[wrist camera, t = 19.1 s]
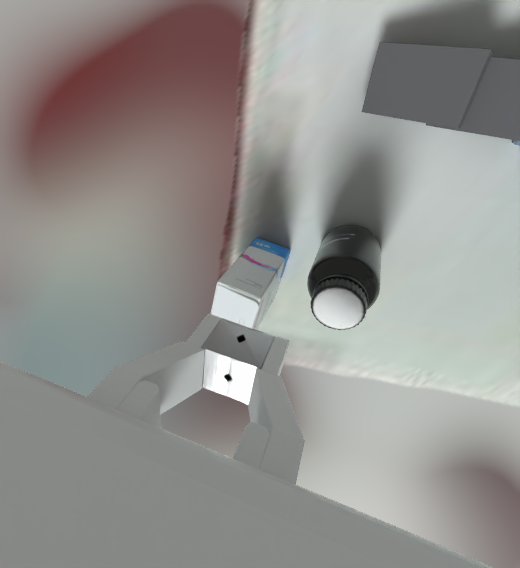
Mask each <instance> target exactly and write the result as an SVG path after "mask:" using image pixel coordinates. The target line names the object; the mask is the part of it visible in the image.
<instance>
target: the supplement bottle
mask: <svg viewBox="0 0 520 568" xmlns="http://www.w3.org/2000/svg"><path fill="white" fill-rule="evenodd" d="M380 269H381V249H380V245H379V242H378V240H377V238H376V237H375V236H374V235H373V234H372V233H371V232H370V231H369V230H367V229H365V228H363V227H361V226H357V225H344V226H340V227H338V228H335V229H334V230H332V231H331V232H329V233H328V234H327V235H326V237H325V238H324V240H323V241H322V244H321V246H320V248H319V251H318V253H317V256H316V258H315V261H314V263H313V265H312V268H311V270H310V273H309V276H308V291H309V294H310V296H311V298H312V300H311V309H312V313H313V314H314V316H315V317H316V319H317V320H318V321H319V322H320V323H322V324H323V325H324V326H327V327H329V328H333V329H338V330H341V329H343V330H345V329H350V328H352V327H355V326H356V325H359V323H360V322H362V319H363V318H364V317H365V314H366V310H367V309H369V308H370V307H371V306H372V305H373V304H374V303H375V301H376V299H377V297H378V295H379V290H380Z"/></svg>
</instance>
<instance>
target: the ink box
mask: <svg viewBox="0 0 520 568" xmlns="http://www.w3.org/2000/svg"><path fill="white" fill-rule="evenodd" d="M289 254H290V249H287V248H285V247H282V246H280V245H277V244H274V243H271V242H269V241H266V240H263V239H260V238H256V239H255V240H254V241H253V242H252V244H251V245H250V246H249V247H248V248H247V249H246V250H245V251H244V253H243V254H242V255H241V256H240V257H239V258H238V259H237V260H236V261H235V263H234V264H233V265H232V266H231V267H230V268H229V269H228V270H227V271H226V273H225V274H224V275H223V276H222V277H221V278H220V279H219V281H218V282H217V286H216V291H215V296H214V300H213V305H212V310H211V314H212V315H215V316H217V317H220V318H224V319H226V320H229V321H232V322H235V323H238V324H240V325H243V326H246V327H248V328H252V329H255V330H257V329H258V327H259V325H260V323H261V322H262V320H263V318H264V316H265V314H266V313H267V311H268V309H269V307H270V305H271V303H272V302H273V300H274V298H275V295H276V292H277V289H278V286H279V283H280V280H281V277H282V275H283V272H284V269H285V266H286V263H287V260H288V257H289Z"/></svg>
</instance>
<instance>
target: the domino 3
mask: <svg viewBox="0 0 520 568" xmlns="http://www.w3.org/2000/svg"><path fill="white" fill-rule="evenodd" d="M512 143H514V144H515V145H520V141H518V140H513V141H512Z"/></svg>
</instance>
